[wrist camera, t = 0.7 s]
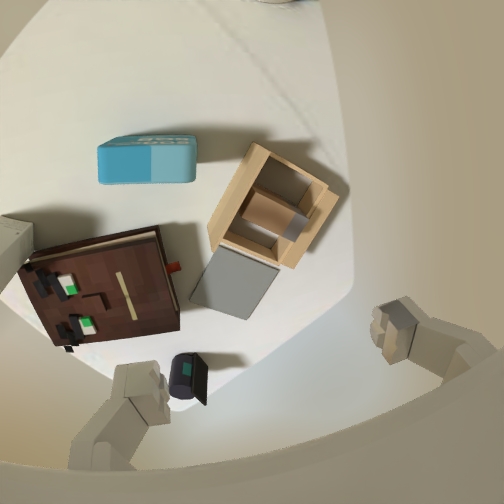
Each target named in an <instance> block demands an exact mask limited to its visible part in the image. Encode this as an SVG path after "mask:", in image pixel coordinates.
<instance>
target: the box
mask: <svg viewBox="0 0 504 504" xmlns="http://www.w3.org/2000/svg"><path fill="white" fill-rule="evenodd" d="M238 212H239V214H240V216H241V218H243V219H246V220H248V221H250V222H252V223H254V224H256V225H258V226H261V227H263V228H265V229H267V230H269V231H271V232H273V233H276V234H278V235H280V236H282V237H284V238H286V239H288V240H290V241H292V242H294V243H295V242H296V240H297V239H298V237H299V235H300V234H301V232H302V231H303V229H304V227H305V226H306V224H307V223H308V221H309V219H308V218H307V217H306V216H305V215H304V214H303V213H302V212H301V211H300V210H299V208H298V207H297V206H296V205H295V204H294V203H293V202H291V201H289V200H287V199H285V198H283V197H282V196H279V195H277V194H276V193H274V192H272V191H270V190H268V189H266V188H264V187H262V186H260V185H258V184H256V183H253V184H252V186H251V188H250V190H249V191H248V193H247V195H246V197H245V199H244V200H243V202H242V204H241V206H240V207H239V209H238Z"/></svg>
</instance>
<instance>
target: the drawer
mask: <svg viewBox="0 0 504 504" xmlns="http://www.w3.org/2000/svg"><path fill="white" fill-rule="evenodd" d="M268 156H271V157H273V158H274V159H276V160H278V161H280V162H282V163H283V164H285V165H287V166H289V167H290V168H292V169H294V170H296V171H297V172H299V173H301V174H303V175H304V176H306V177H308V178H309V179H311V180H313V181H312V183H311V185H310V186H309V188H308V189H307V191H306V193H305V194H304V196H303V198H302V199H301V201H300V203H299V204H298V206H297V207H298V208H299V210H300V211H301V212H302V213H303V214H304V215H305V216H306V217H307V218H308V219H309V221H308V223H307V224H306V226H305V227H304V229H303V231H302V232H301V234H300V235H299V237H298V239H297V240H296V242H295V243H294V242H292V241H290V240H288V239H286V238H284V237H282V236H279V237H278V239H277V241H276V242H275V244H274V245H273V247H272V249H269V248H266V247H264V246H262V245H260V244H257V243H255V242H253V241H251V240H248V239H246V238H244V237H241V236H239V235H237V234H235V233H232V232H230V231H228V230H227V229H228V227H229V225H230V224H231V222H232V220H233V218H234V216H235V215H236V213H237V211H238V209H239V207H240V206H241V204H242V202H243V200H244V199H245V197H246V195H247V193H248V191H249V190H250V188H251V186H252V184H253V183H254V181H255V179H256V177H257V176H258V174H259V172H260V170H261V169H262V167H263V165H264V163H265V162H266V160H267V158H268ZM328 187H329V186H328V185H327V184H325V183H324V182H322V181H321V180H319V179H318V178H316V177H314V176H313V175H311V174H309V173H308V172H306V171H304V170H303V169H301V168H299V167H297V166H296V165H294V164H292V163H291V162H289V161H287V160H285V159H284V158H282V157H280V156H278V155H276V154H275V153H273V152H271V151H269V150H268V149H266V148H264V147H262V146H260V145H258V144H257V143H255V142H252V144H251V146H250V148H249V149H248V151H247V153H246V155H245V157H244V158H243V160H242V162H241V164H240V165H239V167H238V169H237V171H236V173H235V174H234V176H233V178H232V180H231V182H230V184H229V185H228V187H227V189H226V191H225V193H224V195H223V196H222V198H221V200H220V202H219V204H218V206H217V208H216V209H215V211H214V213H213V215H212V217H211V219H210V221H209V223H208V225H207V228H208V233H209V239H210V245H211V250H212V252H213V253H215V251H216V249H217V247H218V245H219V244H220V242H223V243H225V244H228V245H230V246H232V247H235V248H237V249H239V250H242V251H244V252H247V253H249V254H251V255H254V256H256V257H258V258H261V259H263V260H266V261H268V262H270V263H273V264H275V265H277V266H279V265H280V264H282V265H285V266H287V267H289V268H292V269H294V268H295V267H296V265H297V263H298V262H299V260H300V259H301V257H302V256H303V254H304V253H305V251H306V250H307V248H308V246H309V245H310V243H311V242H312V240H313V239H314V237H315V236H316V234H317V232H318V231H319V229H320V228H321V226H322V224H323V223H324V221H325V220H326V218H327V216H328V215H329V213H330V212H331V210H332V208H333V207H334V205H335V204H336V202H337V200H338V199H339V196H337V195H336V194H334V193H333V192H331V191H329V190H328V189H327V188H328Z"/></svg>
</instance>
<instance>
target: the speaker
mask: <svg viewBox="0 0 504 504" xmlns="http://www.w3.org/2000/svg"><path fill="white" fill-rule="evenodd" d="M207 379H208V366H207V365H206V364H205V362H204V361H203V360H202V359H201V358H200V357H199V356H198V355H197V353H196V352H195V353H194V357H192V356H189V355H177V356H175V357H174V359H173V360H172V365H171V371H170V378H169V385H168V388H169V394H170V395H171V396H172V397H174V398H178V399H181V400H185V399H192V398H194V397H196V398H197V399H198V400H199V401H200V402H201V403H202V404H203V405H205V406H206V405H207Z"/></svg>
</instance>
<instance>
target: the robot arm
mask: <svg viewBox="0 0 504 504" xmlns="http://www.w3.org/2000/svg"><path fill="white" fill-rule="evenodd" d="M258 1H261V2H267V3H284V2H289V1H293V0H258ZM372 316H373V318H374V320H373V322H372V323H371V325H370V334H371V338H372V340H373V342H374V344H375V345H376V346H377V347H379V348H381V349H382V355H383V356H384V358H385V359H386V360H387V362H388V363H389V365H392V364H394V363H397V362H400V361H402V360H405V359H407V358H408V360H410V361H412V362H414V363H416V364H418V365H419V366H421V367H423V368H425V369H427V370H429V371H431V372H433V373H434V374H436V375H438V376H440V377H442V378H443V381H442V383H441V385H440V386H439V387H438V388H436V389H434V390H432V391H430V392H428V393H426V394H424V395H422V396H420V397H418V398H416V399H414V400H412V401H410V402H408V403H406V404H404V405H402V406H399V407H397V408H395V409H393V410H391V411H388V412H386V413H384V414H381V415H379V416H377V417H374V418H372V419H369V420H367V421H365V422H362V423H359V424H357V425H354V426H351V427H349V428H346V429H343V430H341V431H338V432H335V433H332V434H329V435H326V436H323V437H320V438H317V439H313V440H311V441H307V442H304V443H300V444H297V445H293V446H290V447H286V448H282V449H278V450H274V451H270V452H266V453H262V454H258V455H253V456H249V457H243V458H239V459H233V460H228V461H222V462H217V463H210V464H203V465H196V466H187V467H178V468H168V469H157V470H136V469H135V468H134V467H133V466H132V465H131V464H130V463H129V462H130V460H131V458H132V456H133V455H134V453H135V451H136V449H137V448H138V446H139V444H140V442H141V441H142V439H143V437H144V435H145V434H146V432H147V430H148V428H149V427H148V426H155V425H162V424H169V423H170V408H169V406H168V404H167V402H168V401H169V399H170V396H169V388H168V384H167V381H166V378H165V376H164V375H163V374H161V373H160V366H159V364H158V362H157V361H155V360H153V361H145V362H137V363H130V364H123V365H117V366H116V368H115V372H114V378H113V384H112V391H111V398H110V399H109V400H106V401H105V403H104V404H103V405H102V406H101V407H100V408H99V410H98V411H97V412H96V413H95V414H94V416H93V417H92V418H91V419H90V420H89V421H88V423H87V424H86V425H85V426H84V427H83V428H82V430H81V431H80V432H79V433H78V434H77V435H76V437H75V438H74V439H73V440H72V442H71V448H70V455H69V462H68V469H56V468H47V467H38V466H30V465H24V464H18V463H12V462H7V461H2V460H0V504H504V347H502V348H501V349H499V350H497V349H496V348H495V347H494V346H493V345H492V344H491V343H490V342H489V341H488V340H487V339H486V338H485V337H484V336H483V335H482V334H481V333H479V332H476V331H473V330H470V329H467V328H464V327H461V326H458V325H455V324H451V323H449V322H445V321H442V320H440V319H437V318H434V317H433V318H429V316H428V315H427V314H426V313H425V312H424V311H423V310H422V309H421V308H420V307H418V305H417V304H416V303H415V302H414V301H413V300H412V299H410V297H408V296H405V297H402V298H399V299H396V300H394V301H391V302H388V303H385V304H382V305H379V306H376V307H374V309H373V311H372Z"/></svg>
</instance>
